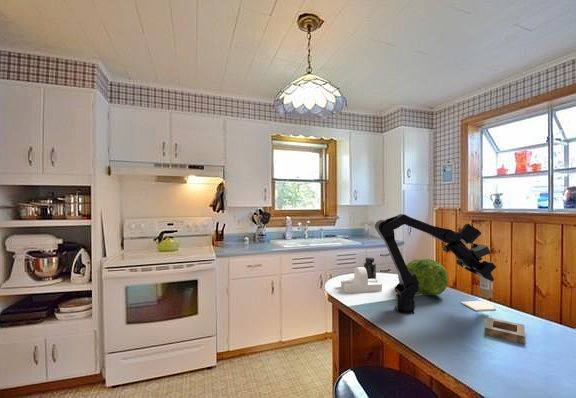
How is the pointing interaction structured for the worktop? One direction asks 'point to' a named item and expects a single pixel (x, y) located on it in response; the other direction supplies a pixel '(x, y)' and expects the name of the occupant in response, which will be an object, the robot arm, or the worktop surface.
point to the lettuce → (429, 276)
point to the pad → (478, 306)
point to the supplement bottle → (370, 268)
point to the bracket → (361, 282)
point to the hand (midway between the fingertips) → (489, 279)
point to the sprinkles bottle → (486, 287)
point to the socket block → (505, 330)
